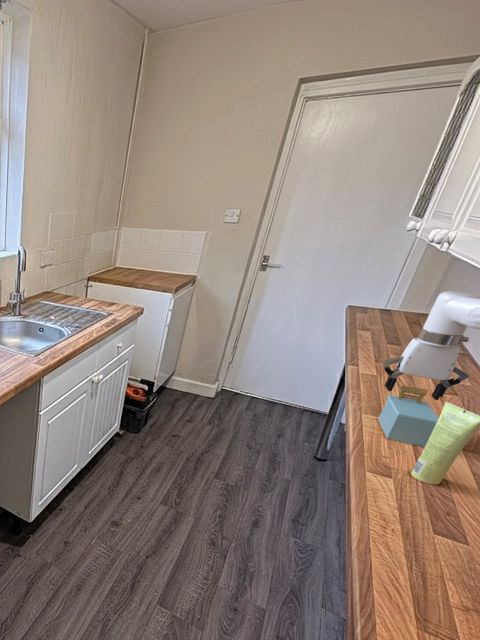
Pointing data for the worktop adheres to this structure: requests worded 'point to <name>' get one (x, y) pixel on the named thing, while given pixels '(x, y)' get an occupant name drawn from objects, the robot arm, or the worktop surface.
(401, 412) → the chest lid
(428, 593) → the worktop surface
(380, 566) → the worktop surface
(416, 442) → the chest
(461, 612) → the worktop surface
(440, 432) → the tube
